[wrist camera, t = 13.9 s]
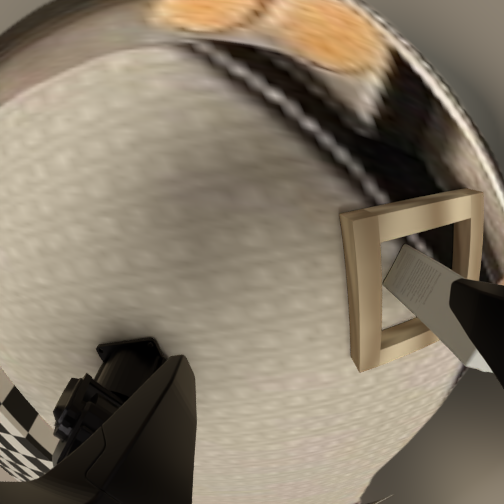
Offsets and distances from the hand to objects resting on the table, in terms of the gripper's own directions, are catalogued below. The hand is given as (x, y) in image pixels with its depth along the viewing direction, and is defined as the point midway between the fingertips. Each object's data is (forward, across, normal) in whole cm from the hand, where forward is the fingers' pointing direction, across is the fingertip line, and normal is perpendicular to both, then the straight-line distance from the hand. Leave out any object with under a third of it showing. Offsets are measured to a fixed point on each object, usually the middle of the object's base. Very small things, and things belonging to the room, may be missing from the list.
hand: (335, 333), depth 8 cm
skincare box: (+13, -12, +7) cm, 19 cm away
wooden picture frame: (+13, -12, +7) cm, 19 cm away
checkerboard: (+14, +61, +26) cm, 68 cm away
